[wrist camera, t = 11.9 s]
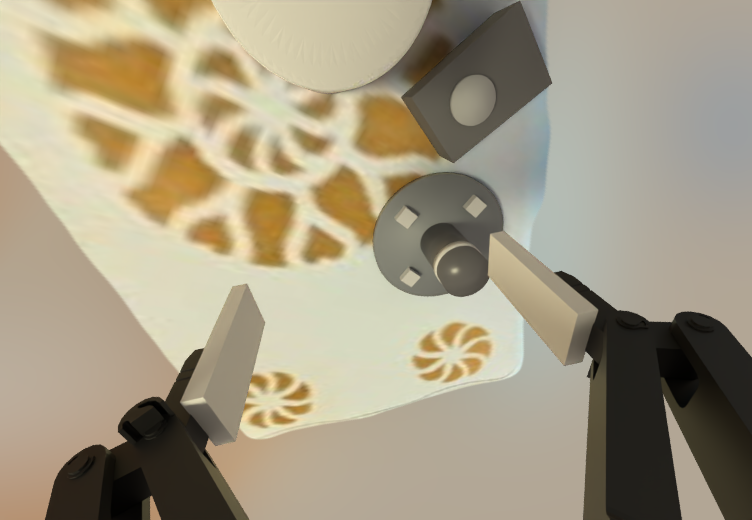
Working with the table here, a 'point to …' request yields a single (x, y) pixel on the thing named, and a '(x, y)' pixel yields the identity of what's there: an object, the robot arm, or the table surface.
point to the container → (325, 37)
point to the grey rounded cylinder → (454, 260)
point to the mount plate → (419, 212)
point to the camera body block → (479, 84)
